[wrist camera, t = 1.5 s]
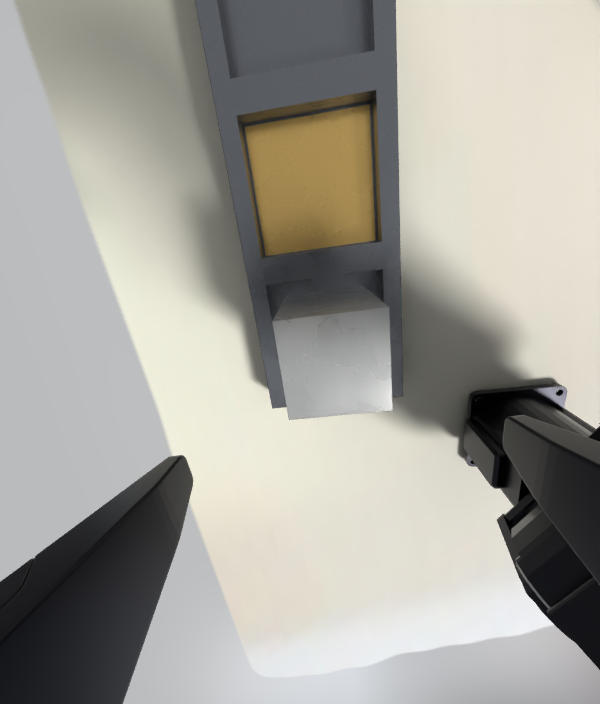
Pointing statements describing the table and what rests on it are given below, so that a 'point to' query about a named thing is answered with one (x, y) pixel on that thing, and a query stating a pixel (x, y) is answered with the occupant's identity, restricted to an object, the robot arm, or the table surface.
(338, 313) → the metal block
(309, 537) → the table surface
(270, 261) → the gray compartment tray
